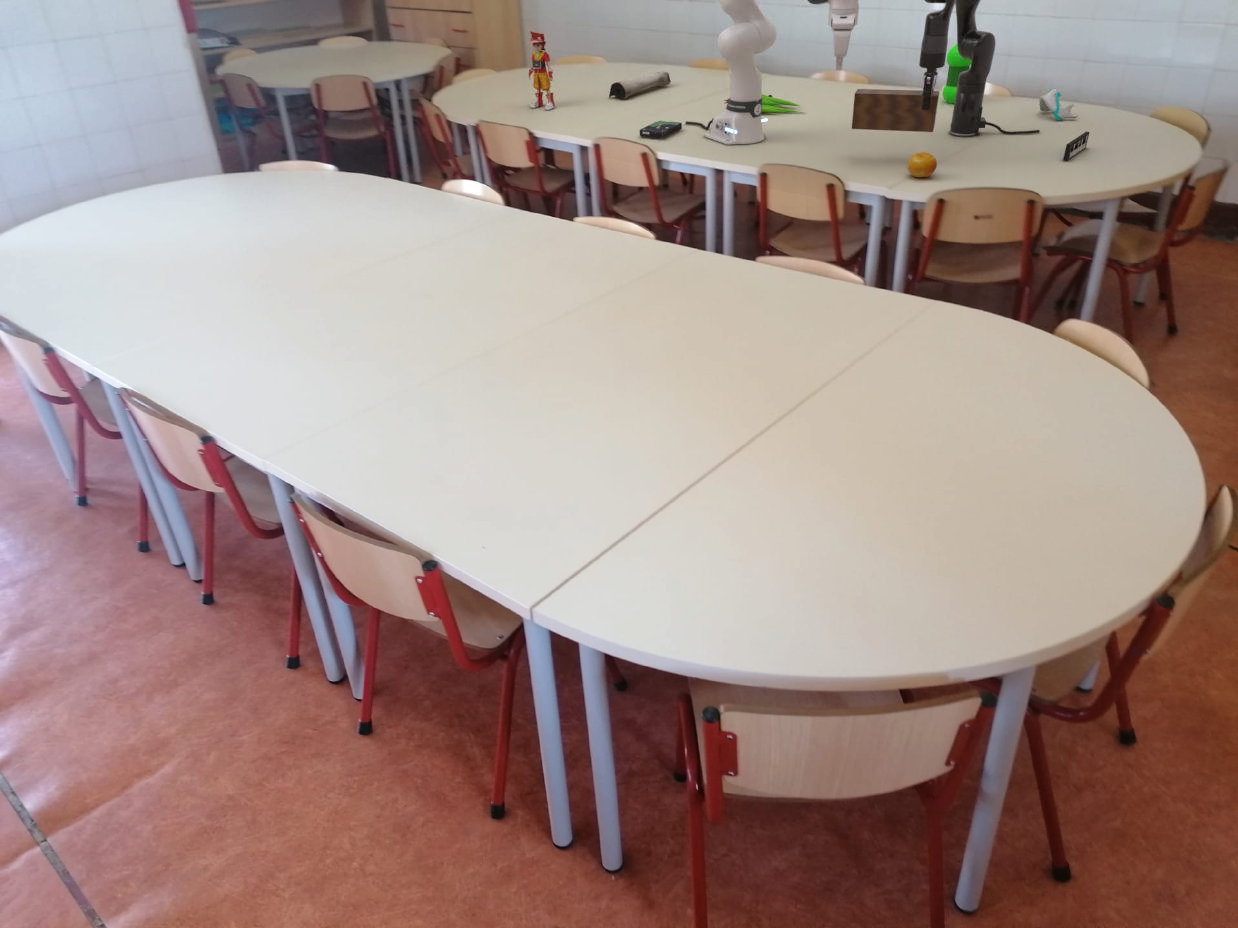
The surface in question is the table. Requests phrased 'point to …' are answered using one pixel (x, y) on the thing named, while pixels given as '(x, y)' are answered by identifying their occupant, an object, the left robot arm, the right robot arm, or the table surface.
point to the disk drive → (660, 129)
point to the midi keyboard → (1076, 145)
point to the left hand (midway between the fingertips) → (838, 66)
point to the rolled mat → (638, 84)
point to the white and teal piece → (1055, 105)
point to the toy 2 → (769, 104)
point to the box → (893, 110)
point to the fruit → (922, 164)
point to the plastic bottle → (954, 73)
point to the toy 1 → (541, 71)
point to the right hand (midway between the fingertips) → (926, 107)
